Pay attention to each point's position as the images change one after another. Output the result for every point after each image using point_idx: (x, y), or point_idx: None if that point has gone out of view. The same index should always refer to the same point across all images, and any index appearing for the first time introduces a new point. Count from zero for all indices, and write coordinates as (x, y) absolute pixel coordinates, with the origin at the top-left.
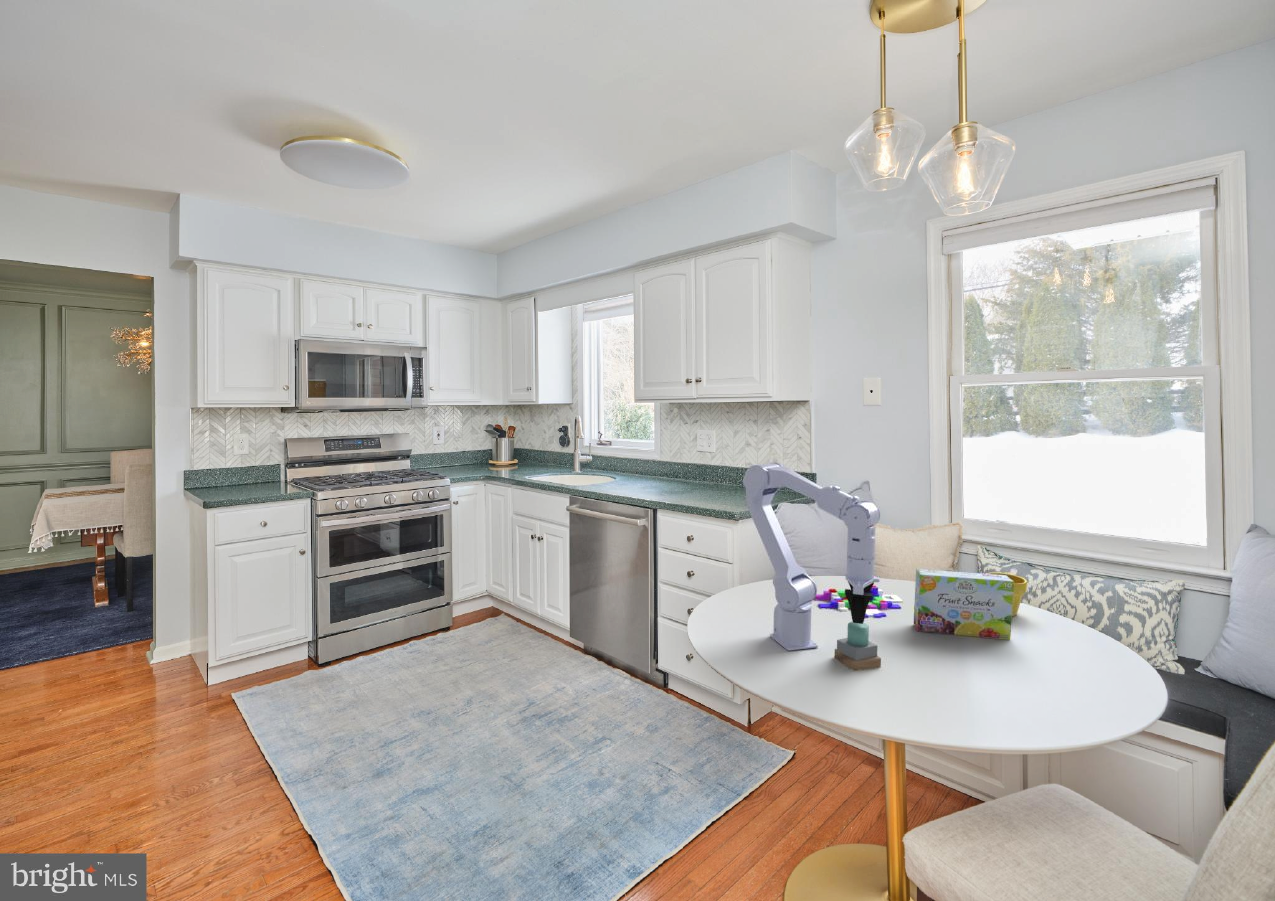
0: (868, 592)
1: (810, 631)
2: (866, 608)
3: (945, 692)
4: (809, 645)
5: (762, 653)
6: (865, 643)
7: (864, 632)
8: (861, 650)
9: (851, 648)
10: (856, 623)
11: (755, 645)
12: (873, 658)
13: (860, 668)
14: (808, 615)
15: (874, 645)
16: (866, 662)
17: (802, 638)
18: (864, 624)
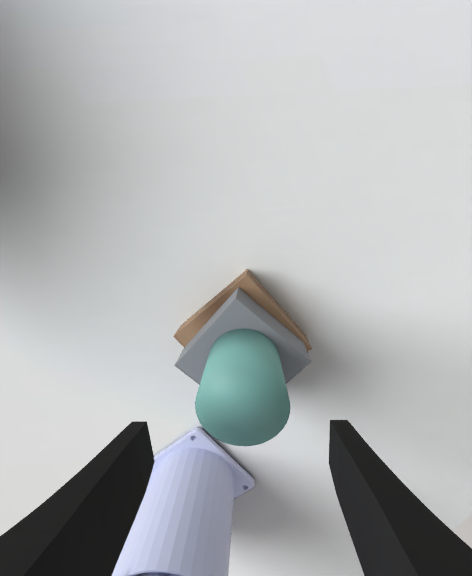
0: (43, 564)
1: (186, 480)
2: (443, 524)
3: (361, 58)
4: (209, 447)
5: (293, 520)
6: (266, 341)
7: (276, 370)
8: (292, 342)
9: (294, 373)
10: (221, 416)
11: (254, 537)
12: (258, 295)
13: (290, 319)
14: (191, 555)
15: (241, 307)
16: (280, 311)
17: (222, 482)
18: (217, 385)
